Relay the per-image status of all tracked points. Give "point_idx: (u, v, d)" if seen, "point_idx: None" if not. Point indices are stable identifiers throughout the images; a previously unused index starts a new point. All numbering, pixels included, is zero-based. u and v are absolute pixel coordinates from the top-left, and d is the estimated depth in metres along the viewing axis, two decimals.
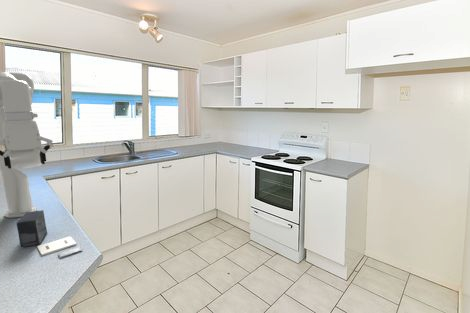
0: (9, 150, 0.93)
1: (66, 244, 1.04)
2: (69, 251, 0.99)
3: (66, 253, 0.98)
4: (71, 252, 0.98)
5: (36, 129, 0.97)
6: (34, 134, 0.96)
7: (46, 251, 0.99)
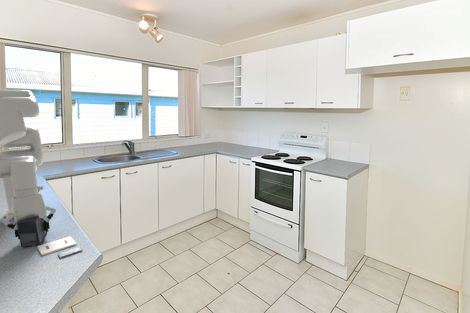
0: None
1: (66, 244, 1.04)
2: (69, 251, 0.99)
3: (66, 253, 0.98)
4: (71, 252, 0.98)
5: (42, 201, 1.06)
6: (40, 206, 1.06)
7: (46, 251, 0.99)
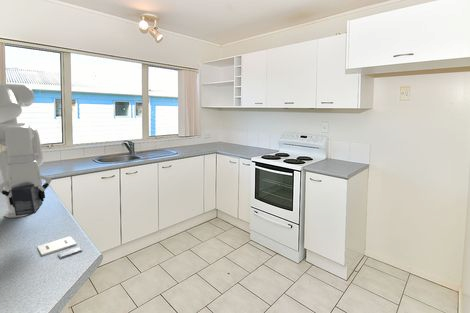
0: None
1: (66, 244, 1.04)
2: (69, 251, 0.99)
3: (66, 253, 0.98)
4: (71, 252, 0.98)
5: (37, 169, 1.04)
6: (35, 174, 1.04)
7: (46, 251, 0.99)
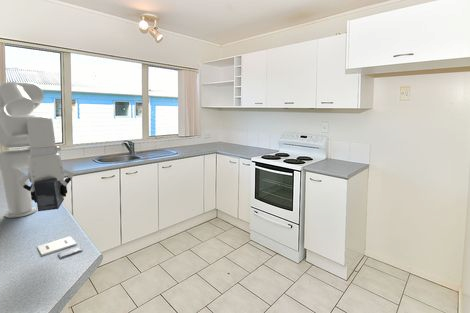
0: None
1: (66, 244, 1.04)
2: (69, 251, 0.99)
3: (66, 253, 0.98)
4: (71, 252, 0.98)
5: (59, 162, 0.99)
6: (58, 167, 0.99)
7: (46, 251, 0.99)
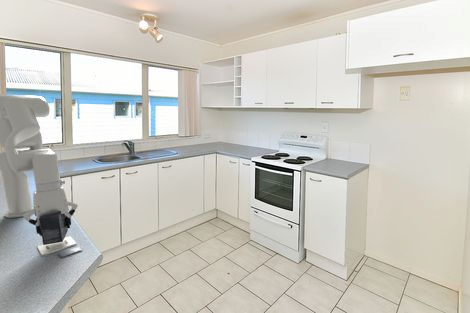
0: None
1: (66, 244, 1.04)
2: (69, 251, 0.99)
3: (66, 253, 0.98)
4: (71, 252, 0.98)
5: (64, 196, 1.01)
6: (62, 201, 1.01)
7: (46, 251, 0.99)
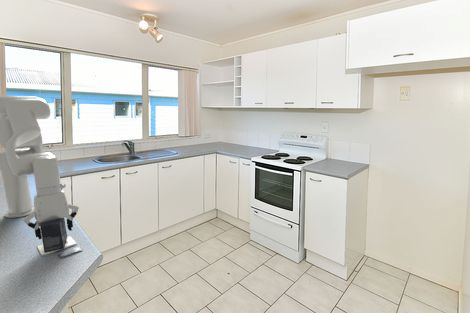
0: (40, 222, 0.98)
1: (66, 244, 1.04)
2: (69, 251, 0.99)
3: (66, 253, 0.98)
4: (71, 252, 0.98)
5: (64, 199, 1.02)
6: (63, 204, 1.01)
7: None
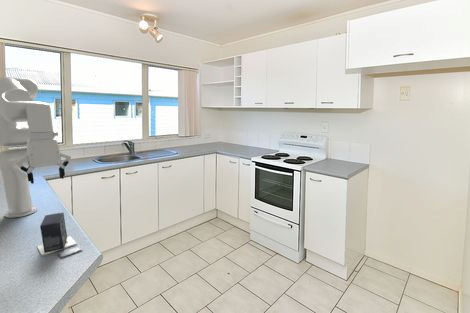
0: (32, 167, 1.01)
1: (66, 244, 1.04)
2: (69, 251, 0.99)
3: (66, 253, 0.98)
4: (71, 252, 0.98)
5: (57, 147, 1.05)
6: (55, 152, 1.04)
7: None
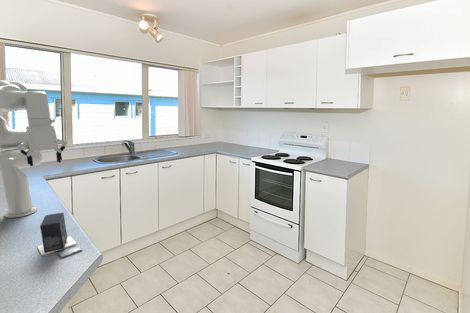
0: (31, 150, 1.09)
1: (66, 244, 1.04)
2: (69, 251, 0.99)
3: (66, 253, 0.98)
4: (71, 252, 0.98)
5: (54, 132, 1.13)
6: (52, 137, 1.13)
7: None
